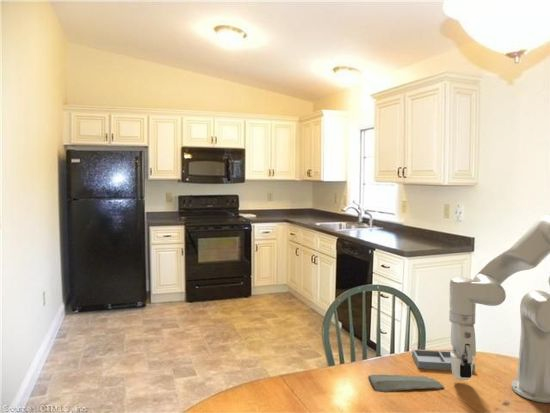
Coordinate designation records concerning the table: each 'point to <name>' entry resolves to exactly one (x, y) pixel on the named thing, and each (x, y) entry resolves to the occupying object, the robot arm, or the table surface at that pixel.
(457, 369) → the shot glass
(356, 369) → the table surface
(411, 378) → the stone slab
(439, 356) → the tray
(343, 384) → the table surface
